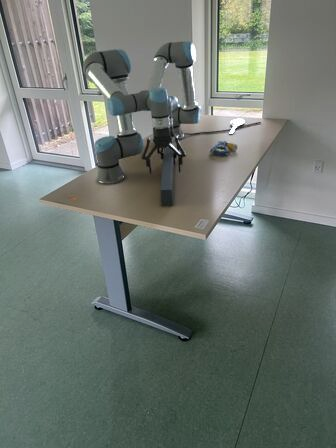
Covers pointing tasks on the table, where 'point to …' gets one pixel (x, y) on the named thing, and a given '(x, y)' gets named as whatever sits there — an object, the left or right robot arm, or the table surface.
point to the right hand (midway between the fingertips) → (169, 163)
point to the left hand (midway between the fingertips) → (165, 172)
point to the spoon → (236, 124)
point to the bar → (167, 178)
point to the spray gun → (223, 148)
